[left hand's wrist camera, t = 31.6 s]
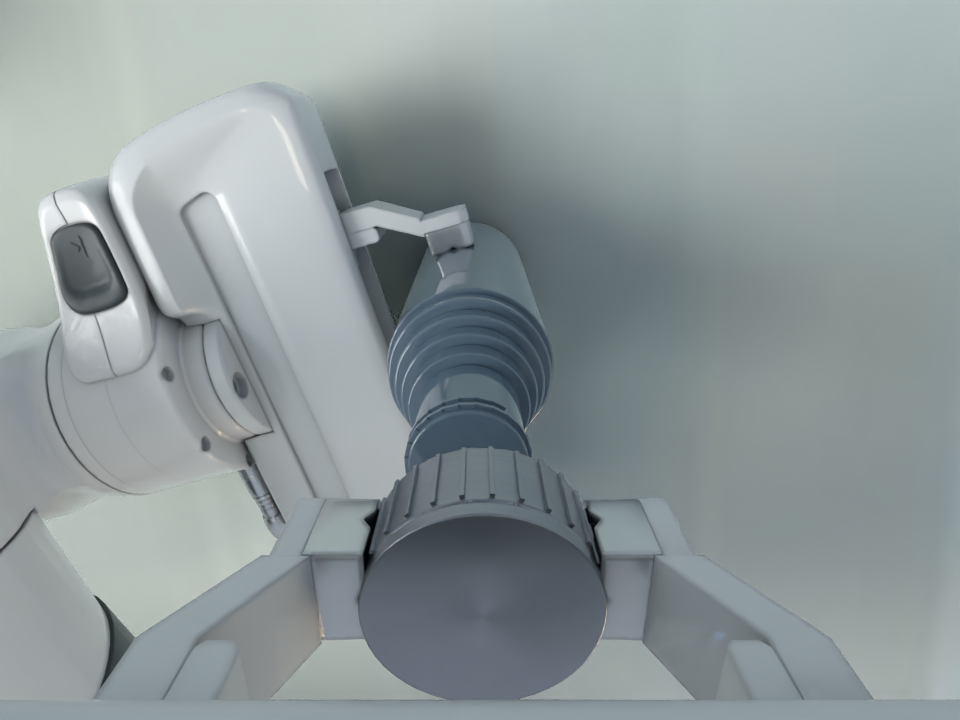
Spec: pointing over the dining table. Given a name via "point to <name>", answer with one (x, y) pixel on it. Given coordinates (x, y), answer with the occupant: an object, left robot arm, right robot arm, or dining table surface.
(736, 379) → the dining table surface
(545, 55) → the dining table surface
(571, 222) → the dining table surface
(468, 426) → the bottle
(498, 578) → the cap
